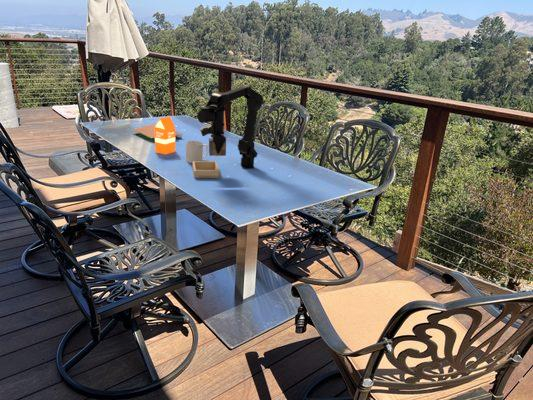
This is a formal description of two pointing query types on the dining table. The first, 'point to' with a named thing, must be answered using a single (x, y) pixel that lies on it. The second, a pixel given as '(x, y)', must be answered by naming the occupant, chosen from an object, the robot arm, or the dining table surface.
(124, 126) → the dining table surface
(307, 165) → the dining table surface
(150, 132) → the brown green flat box
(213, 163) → the carton
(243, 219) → the dining table surface
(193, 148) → the mug
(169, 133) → the orange juice
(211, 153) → the walnut box
